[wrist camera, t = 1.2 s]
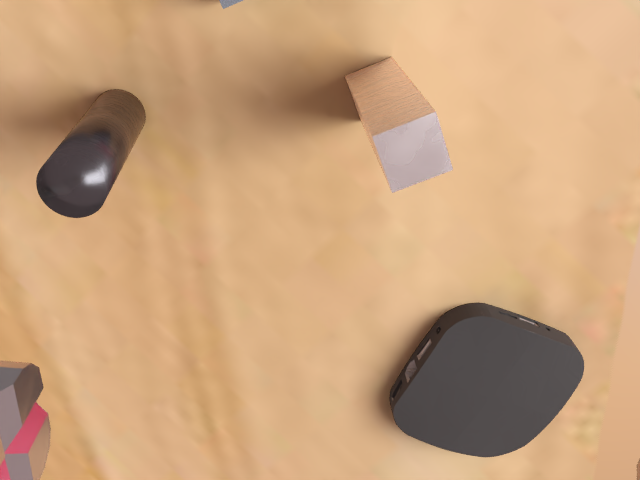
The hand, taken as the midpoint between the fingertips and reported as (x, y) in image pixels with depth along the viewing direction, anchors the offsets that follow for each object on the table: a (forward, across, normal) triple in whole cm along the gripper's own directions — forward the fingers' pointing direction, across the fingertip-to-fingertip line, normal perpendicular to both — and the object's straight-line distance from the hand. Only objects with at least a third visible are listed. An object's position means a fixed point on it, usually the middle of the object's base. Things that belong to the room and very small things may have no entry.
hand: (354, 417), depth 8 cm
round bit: (+35, -13, -8) cm, 38 cm away
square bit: (+36, +4, -5) cm, 36 cm away
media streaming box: (+38, +17, -31) cm, 52 cm away
